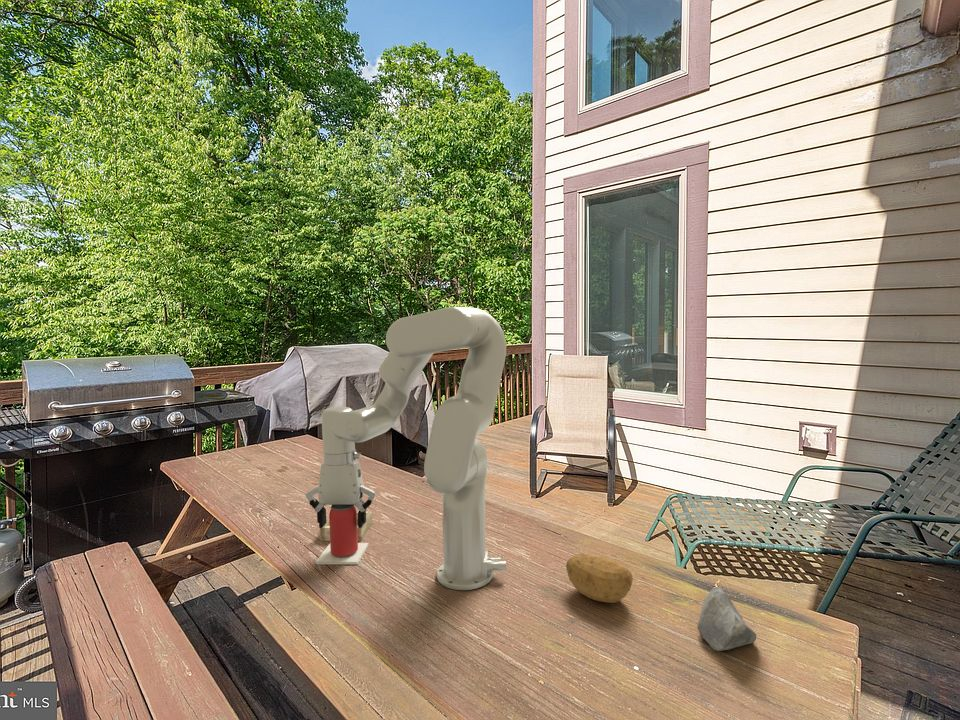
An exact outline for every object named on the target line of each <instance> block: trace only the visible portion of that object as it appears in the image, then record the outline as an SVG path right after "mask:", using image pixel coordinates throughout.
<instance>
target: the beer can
mask: <svg viewBox="0 0 960 720" xmlns="http://www.w3.org/2000/svg"><path fill="white" fill-rule="evenodd" d="M357 512H358V511H357V507H356V506H355V505H330V510H329V514H328V516H329V517H328V518H329V523H330V541H329V544H330V548H331V554H332V555H333V556H336V557H347V556H350V555H353V554H354V553H355V552H356V551H357V550H358V543H359V541H358V534H357V526H358V525H357Z"/></svg>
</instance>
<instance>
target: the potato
mask: <svg viewBox="0 0 960 720" xmlns="http://www.w3.org/2000/svg"><path fill="white" fill-rule="evenodd" d="M565 568H566V572H567V576H568V580H569V581H570V582H571V584H572V585H573V587H574V588H575V589H576V590H577V592H579V593H580V594H581V595H584V596H585V597H586V598H588V599H592V600H593V601H597V602H602V603H603V602H604V603H608V604H609V603H610V604H613V603H618V602H619V601H621V600H622V599H624V598H626V596H627V595H628V593H629V591H630V590H631V588H632V586H633V585H632V584H633V579H634V578H633V575H632V572H631V571H630V570H629V569H628V568H627V567H626V566H625V565H622V564H620V563H618V562H616V561H614V560H612V559H610V558H608V557H606V556H601V555H593V554H588V553H583V552H582V553H578V554H574V555H573V556H571V557H570V558H569V559H568V560H567V561H566V565H565Z"/></svg>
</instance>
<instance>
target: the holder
mask: <svg viewBox="0 0 960 720" xmlns="http://www.w3.org/2000/svg"><path fill="white" fill-rule="evenodd" d="M358 512H359V511H357V534H358V542H360V541H361V542H362V541H363V540H364V538H365V536H366V535H367V533H368V531H369V530H370V529H371V526H372V525H373V511H366V523H364V525H363V526H362V528H359V527H358ZM319 534H320V536H319V537H320V542H321V541H324V542H330V523H329V517H327V518H326V524H325V525H324V526H323V527H322V528H319Z"/></svg>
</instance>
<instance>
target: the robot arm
mask: <svg viewBox="0 0 960 720" xmlns="http://www.w3.org/2000/svg"><path fill="white" fill-rule="evenodd" d="M385 343H386V344H385V345H386V346H387V349H388V351H389V352H388V353H387V355H386V357H385V358H384V359H383V361H382V363H381V364H380V365H379V368H378V373H379V376H380V378H381V379H382V381H384V386H383V388H382V391H381V392H380V394H379V395H378V397H377V398H376V400H375V401H374V402H373V404H371V405H368V406H365V407H362V408H358V409H356V410H353V409H352V408H350V407H349V406H348V407H347V406H332V407H328V408H325V409H324V410H323V411H322V412H321V434H322V456H323V457H322V458H323V459H322V460H323V462H322V463H321V464H320V469H319V475H318V476H319V477H318V486H316V487H314V488H313V489H311V490H309V491H307V492H306V493H305V497H306V499H307V501H308V503H309V505H310V506H311V508H313V509H314V512H316V522H317V524H318V528H319V529H320V528H322V527H323V526H324V525H325V524H326V520H327V509H326V507H325V506H326V505H327V506H328V505H329V506H332V505H354V506H355V508H356V509H358V511H357V512H358V525H357V526H358V527H359V528H362V526H363V525H364V523H366V512H367V509H368V508H369V507H370V506H371V504H372V503H373V501H374V499H375V498H376V495H377V492H376V491H375V490H373V489H371V488H369V487H367V486H365V485H364V481H363V475H362V468H361V464H360V462H359V460H358V459H362V458H361V457H362V453H361V452H358V451H357V449H356V445H355V444H356V443H363V442H366V441H369V440H372V439H374V438H375V437H378V436H380V435H383V434H385V433H387V432H388V431H389V430H390V429H392V428H393V426H394V425H395V423H396V422H397V421H398V419H399V418H400V416H401V415H402V413H403V412H404V410H405V409H406V406H407V405H408V402H409V398H410V396H411V395H410V394H411V389H412V387H413V385H414V383H415V382H416V381H417V379H418V377H419V376H420V375H421V373H422V371H423V370H424V368H425V367H426V365H427V364H428V363H429V361H430V359H431V358H432V356H433V355H434V354H437V353H441V352H448V351H453V350H459V349H467V348H468V354H467V357H466V360H465V362H464V365H463V367H462V371H461V376H460V381H459V386H458V389H457V392H456V394H455V395H453V396H450V397H448V398H447V399H446V400H444V401H443V402H442V403H441V404H440V405H439V406H438V408H437V410H436V412H435V415H434V417H433V421H432V425H431V429H430V434H429V439H428V444H427V448H426V453H425V457H424V462H423V463H424V465H423V471H424V477H425V480H426V482H427V484H428V486H429V487H430V488H431V489H433V490H434V491H435V492H437V493H439V494H441V495H442V500H441V501H442V502H441V503H442V505H441V506H442V549H443V551H442V552H443V563H442V564H441V565H440V566H439V567H438V568H437V570H436V579H437V581H438V582H439V583H440V584H441V585H442V586H444V587H446V588H447V589H448V588H449V589H450V590H457V591H471V590H475V589H479V588H481V587H484V586H486V585H487V584H488V583H490V582H491V580H492V579H493V577H494V572H496V571H497V572H507V561H501V557H491V556H488V554H489V553H488V550H486V548H487V545H486V544H487V543H486V542H487V541H486V483H487V482H486V481H487V473H488V454H487V450H486V447H485V446H484V444H483V443H482V442H481V440H479V439H478V438H477V437H478V436H479V435H481V434H482V433H484V432H485V431H486V430H488V428H489V427H490V425H491V424H492V421H493V418H494V414H495V413H494V412H495V408H496V404H497V399H498V394H499V390H500V386H501V380H502V374H503V371H504V367H505V362H506V357H507V356H506V355H507V339H506V336H505V333H504V330H503V328H502V327H501V325H500V323H499V322H498V321H497V319H496V318H494V317H493V316H492V315H491V314H490V313H488V312H486V310H482V309H480V308H477V307H465V306H450V307H449V306H448V307H443V308H440V309H435V310H431V311H427V312H423V313H419V314H415V315H410V316H405V317H401V318H398V319H396V320H395V321H393V322H392V323H391V324H390V326H389V327H388V329H387V331H386V335H385ZM315 495H318V499H317V498H315ZM364 495H366V496H368V498H367V500H366V501H365V500H364V499H363V497H364Z"/></svg>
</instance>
